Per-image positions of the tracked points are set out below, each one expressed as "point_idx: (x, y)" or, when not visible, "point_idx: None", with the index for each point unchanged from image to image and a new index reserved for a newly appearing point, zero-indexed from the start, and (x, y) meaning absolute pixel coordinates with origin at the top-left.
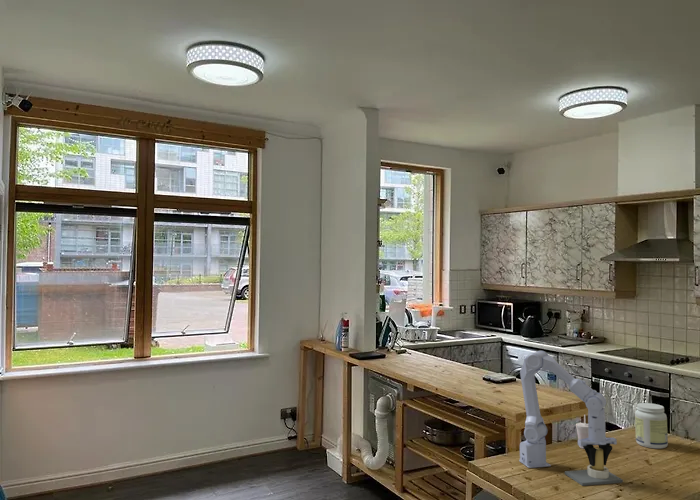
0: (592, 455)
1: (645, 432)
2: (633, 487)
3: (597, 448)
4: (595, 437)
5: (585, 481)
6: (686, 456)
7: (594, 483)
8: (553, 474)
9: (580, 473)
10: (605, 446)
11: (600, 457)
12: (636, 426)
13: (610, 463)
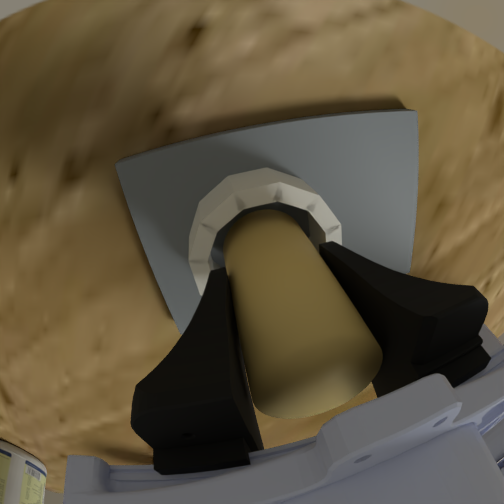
0: (405, 275)
1: (17, 482)
2: (85, 84)
3: (298, 404)
4: (501, 475)
5: (392, 128)
6: None
7: (340, 114)
8: (442, 255)
9: (354, 251)
10: (243, 420)
11: (299, 284)
12: (39, 500)
13: (122, 393)
